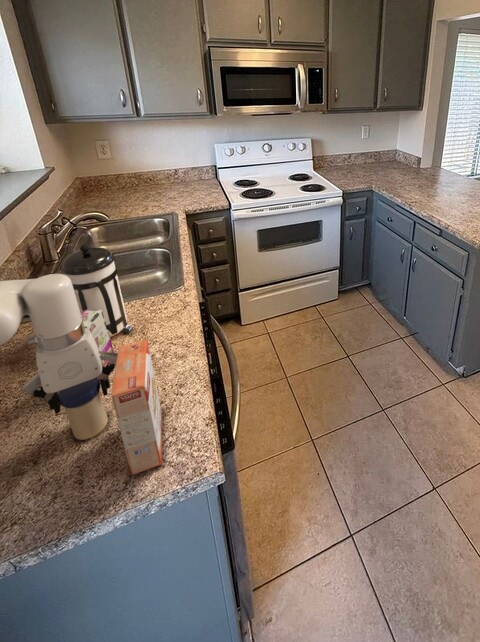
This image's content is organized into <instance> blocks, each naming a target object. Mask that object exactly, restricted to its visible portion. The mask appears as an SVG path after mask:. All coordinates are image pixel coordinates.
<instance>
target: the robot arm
mask: <svg viewBox="0 0 480 642" xmlns="http://www.w3.org/2000/svg"><path fill="white" fill-rule="evenodd" d="M25 316H29V318H30V321H31V324H32V327H33V330H34V333H35V334H34V335H32V336H30V337H28V338H27V343H28V345H29V346H30V345H37V347H36V349H35V360H36V366H37V371H38V372H37V373H36V374H35V375H33V376H32V377H31V378H30V379H29V380H28V381H26V382H25V383H24V384H23V388H22V392H24V393H26V394H29V395H32V396H33V397H34V398H39V399H43V401H45V402H47V404H48V407H49V409H50V410H53V411H54V414H55V415H58V414H59V413H61V406H62V405H61V403H60V401H59V392H60V390H63V389H66V388H69V387H72V386H75V385H78V384H80V383H83V382H86V381H89V380H91V379H94V378H96V377H98V378H100V380H99V382H100V389H101V391H102V394H103V395H102V396H108V389H111V382H110V379H109V376H110V375H111V374H112V372H113V371H115V368H116V361H117V355H118V352H114V353H110V352H102V351H99V349H98V346H97V344H96V342H95V339H94V337H93V336H92V334H91V332H90V331H89V329H87V328H85V327H84V324H83V320H82V317H81V313H80V310H79V306H78V303H77V299H76V296H75V292H74V289H73V285H72V282H71V280H70V278H69V277H68V276H66V275H65V274H64V273H63V274H62V273H51V274H50V273H49V274H45V275H43V276H39V277H37V278H29V279H8V280H0V346H2V345H4V344H5V343H7V342H8V341H9V340H11V339H12V338H13V337H14V335H15V334H16V333H17V331H18V329H19V327H20V325H21V322H22V319H23V318H24V317H25ZM102 360H106V361H110V362H109V363H108V364H107V365H106V367H105V366H103V365H102V362H101V361H102ZM39 383H41V385H39Z"/></svg>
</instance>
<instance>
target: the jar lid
mask: <svg viewBox="0 0 480 642" xmlns="http://www.w3.org/2000/svg"><path fill="white" fill-rule="evenodd" d="M99 390H100V391H101V384H100V380H98V377H96V378H94V379H91V380H89V381H86V382H83V383H80V384H78V385H75V386H72V387H69V388H66V389H63V390H60V391H58V395H59V401H60V403H61V406H62V407H63V408H64V407H66V408H75V407H79V406H81V405H84V404H86V403H87V402H89V401H90V400H92V399H93V398H94V397H95V396H96V395H97V394H98V392H99Z"/></svg>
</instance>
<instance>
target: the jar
mask: <svg viewBox="0 0 480 642" xmlns="http://www.w3.org/2000/svg"><path fill="white" fill-rule="evenodd" d="M63 408H64V411H65V413H66V417H67V419H68V421H69V425H70V429H71V432H72V434H73V437H74V438H75V439H77V440H80V441H82V440H88V439H91V438H93V437H96V436H97V435H98V434H100V433H101V432H102V431H103V430H104V429H105V428H106V426H107V425H108V422H109V417H108V412H107V410H106V407H105V403H104V400H103V395H102V393H101V389H100V390H99V392H98V394H97V395H96V396H95V397H94V398H93V399H92V400H90V401H89V402H87V403H86V404H84V405H81V406H79V407H75V408H66V407H63Z"/></svg>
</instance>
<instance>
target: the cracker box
mask: <svg viewBox="0 0 480 642" xmlns="http://www.w3.org/2000/svg"><path fill="white" fill-rule="evenodd" d="M117 353H118V355H117V361H116V365H115V368H114V375H113V382H112V389H111V394H110V396H111V400H112V404H113V408H114V412H115V416H116V420H117V424H118V427H119V433H120V435H121V439H122V443H123V446H124V451H125V455H126V458H127V463H128V466H129V470H130V474H131V476H134V475H137V474H140V473H143V472H146V471H148V470H151V469H153V468H156V467H159V466H161V465H162V464H163V463H162V461H163V459H162V454H163V453H162V451H163V450H162V448H163V447H162V445H163V444H162V443H163V442H162V440H163V439H162V428H163V427H162V425H163V424H162V407H161V402H160V395H159V390H158V385H157V381H156V377H155V371H154V366H153V361H152V355H151V350H150V346H149V340H148V339H144V340H139V341H136V342H131V343H128V344H124V345H119V346H118V349H117Z"/></svg>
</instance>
